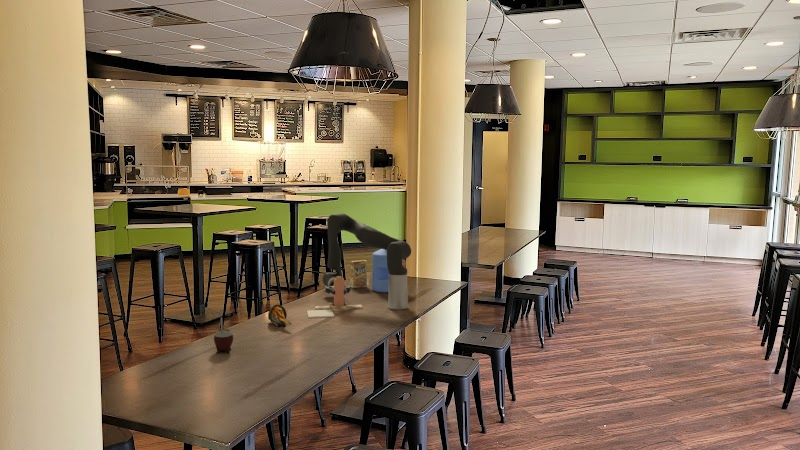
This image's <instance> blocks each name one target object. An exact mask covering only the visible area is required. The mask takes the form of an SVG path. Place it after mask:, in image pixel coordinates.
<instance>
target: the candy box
mask: <svg viewBox="0 0 800 450" xmlns="http://www.w3.org/2000/svg"><path fill="white" fill-rule="evenodd" d="M349 271H350V286H351V289H357V288H367V287H368V261H367V260H366V259H359V260H358V259H357V260H350V270H349Z"/></svg>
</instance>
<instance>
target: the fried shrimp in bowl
mask: <svg viewBox="0 0 800 450" xmlns="http://www.w3.org/2000/svg"><path fill="white" fill-rule="evenodd" d="M267 316H268V317H267V318H268V320H269V321H270V322H271V323H273V324H274V325H275V326H277V327H279V326H282V327H283V326H286V325H288V326H291V325H292V322H291V321H290V320H287V316H288V314H287V310H286V308H285V307H284V306H283V305H281V304H277V303H276V304H274V305H273V306H272V307H271V308H270V309H269V311H268V313H267Z"/></svg>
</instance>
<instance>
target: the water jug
mask: <svg viewBox="0 0 800 450" xmlns="http://www.w3.org/2000/svg"><path fill="white" fill-rule="evenodd" d="M371 256H372V257H371V262H372V264H371V265H372V267H371V268H372V270H371V276H372V279H371V280H372V281H371V290H372V291H374V292H378V293H384V294H385V293H387V292H388V291H389V270H388V267H387V250H385V249H380V248H379V249H378V250H376V251H374V252H372V255H371Z"/></svg>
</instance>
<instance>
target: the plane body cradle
mask: <svg viewBox="0 0 800 450" xmlns="http://www.w3.org/2000/svg"><path fill="white" fill-rule="evenodd" d="M361 309H364V307H363V304H348V302H347V301H344V306H334V302H328V305H317V306H316V305H315V307H314V310H332V312H336V311H337V312H340V311H341V312H342V311H349V310H361Z"/></svg>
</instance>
